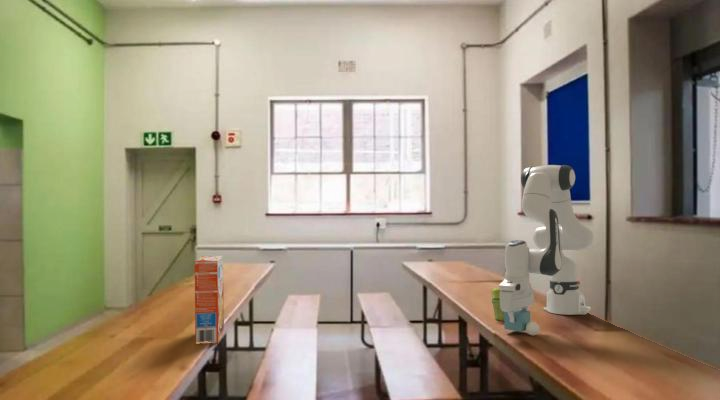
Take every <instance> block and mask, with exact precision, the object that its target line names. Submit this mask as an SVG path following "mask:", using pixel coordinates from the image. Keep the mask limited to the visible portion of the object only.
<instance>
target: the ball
mask: <svg viewBox="0 0 720 400" xmlns="http://www.w3.org/2000/svg"><path fill="white" fill-rule="evenodd" d="M540 330H541V328H540V325H539V324H538V322H535V321H530V322H529V323H527V325H526V330H525V332H526V333H527V334H528V335H529V336H537V335H538V334H539V333H540Z"/></svg>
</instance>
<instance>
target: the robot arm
mask: <svg viewBox="0 0 720 400" xmlns="http://www.w3.org/2000/svg"><path fill="white" fill-rule="evenodd" d="M575 173H576V172H575V170H574V168H573V167H571V166H569V165H566V164H562V165H558V164H547V165H539V166H538V165H537V166H528V167H525V168H524V169H523V170H522V172H521V175H520V183H521V186H522V188H523V193H522V194H523V195H522V198H521V199H522V200H521V210H522V212H523V214H524V215H525V216H526V217H527V218H529V219H530V220H533V221H535V222H537V223H538V224H541V225H543V226H538V227H537V228H536V229H535V230H534V231H533V234H532V240H533V243H534V244H535V246H536V248H531V247H528V244H527V242H526V241H525V240H520V239H519V240H518V239H517V240H516V239H515V240H511V241H508V242H507V243H506V245H505V248H504V249H505V250H504V267H505V273H504V279H503V280H502V281H501V282H500V284H498V289H499V290H501V292H500V308H501V310H502V311H504V312H508V315H509V317H510V322H512V323H514V322H516V317H514V313H515V310H526V311H529V310H528V309H529V307H530V306H533V305H534V303H535V299H534V298H535V297H534V289H533V287H532V285H531V283H530V274H534V275H535V274H536V275H545V276H548V277H549V276H550V280H549V288H550V289H549V290H548V291H547V294H546V306H544V307H543V310H544V311H546V312H548V313H551V314H554V315H555V314H556V315H565V316H566V315H567V316H572V315H574V316H575V315H588V313H590V311H591V307H590V306H586V297H585V295H584V294H583V293H582V292H581V291H580V289H579V288H580V285H581V281H580V280H578V278H577V271H578V270H577V268H578V267H577V264H576V262H575V261H574V260H573V259H571V258H569V257H567V256H565V254H564V253H563V250H564V251H580V250H588V249H590V247H591V246H592V245H593V243H594V233H593V231H592V230H591V229H590V227H588V226H586V225H585V224H583V223H582V222H580V220H579V219H578V218H577V216H576V215H575V212H574V208H573V203H572V198H571V191H570V190H571V189H572V188H573V187H574V185H575V181H576V174H575Z"/></svg>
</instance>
